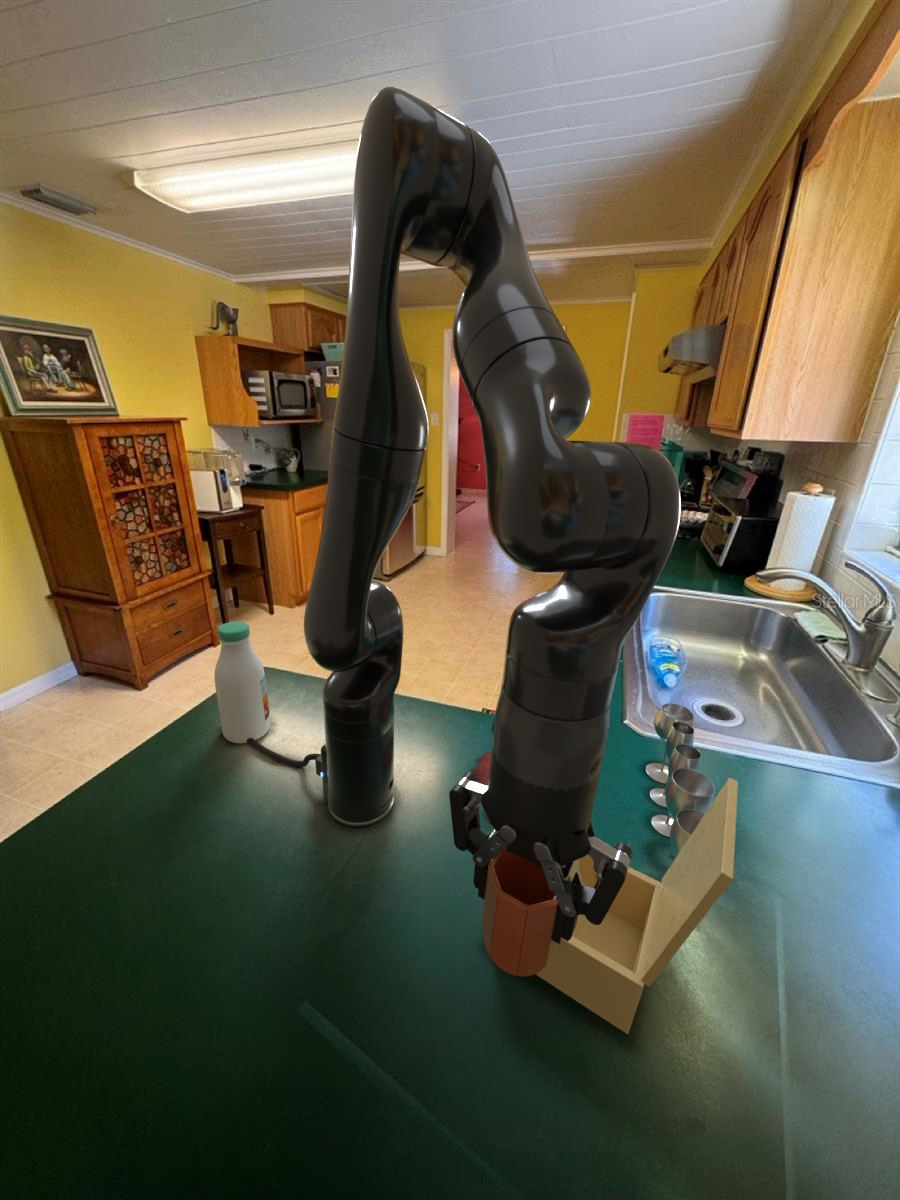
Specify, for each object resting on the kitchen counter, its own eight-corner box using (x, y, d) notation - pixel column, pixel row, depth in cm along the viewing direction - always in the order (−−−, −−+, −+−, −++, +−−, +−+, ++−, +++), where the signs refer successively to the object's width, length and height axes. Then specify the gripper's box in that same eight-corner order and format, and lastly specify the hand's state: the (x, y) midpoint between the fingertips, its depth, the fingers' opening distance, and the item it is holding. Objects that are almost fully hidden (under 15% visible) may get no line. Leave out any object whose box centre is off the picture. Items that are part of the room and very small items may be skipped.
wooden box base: (487, 947, 51) (493, 898, 48) (529, 867, 60) (536, 821, 57) (626, 1039, 44) (643, 987, 41) (649, 932, 53) (664, 884, 50)
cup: (471, 949, 39) (477, 882, 36) (501, 894, 44) (509, 829, 41) (536, 992, 36) (549, 923, 33) (561, 928, 41) (574, 862, 38)
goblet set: (701, 924, 54) (733, 840, 49) (648, 906, 56) (674, 823, 51) (678, 766, 79) (697, 699, 74) (641, 757, 81) (658, 691, 76)
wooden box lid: (721, 872, 34) (733, 879, 34) (729, 776, 43) (738, 781, 43) (640, 981, 41) (649, 987, 41) (661, 878, 50) (669, 883, 50)
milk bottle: (260, 745, 78) (247, 638, 71) (214, 743, 78) (196, 636, 71) (277, 717, 86) (266, 617, 78) (234, 715, 86) (220, 615, 78)
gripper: (666, 754, 32) (620, 920, 38) (480, 687, 39) (467, 837, 45) (645, 830, 26) (596, 1012, 32) (430, 735, 33) (423, 901, 39)
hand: (521, 910), depth 39 cm, fingers closed on cup, 6 cm apart
